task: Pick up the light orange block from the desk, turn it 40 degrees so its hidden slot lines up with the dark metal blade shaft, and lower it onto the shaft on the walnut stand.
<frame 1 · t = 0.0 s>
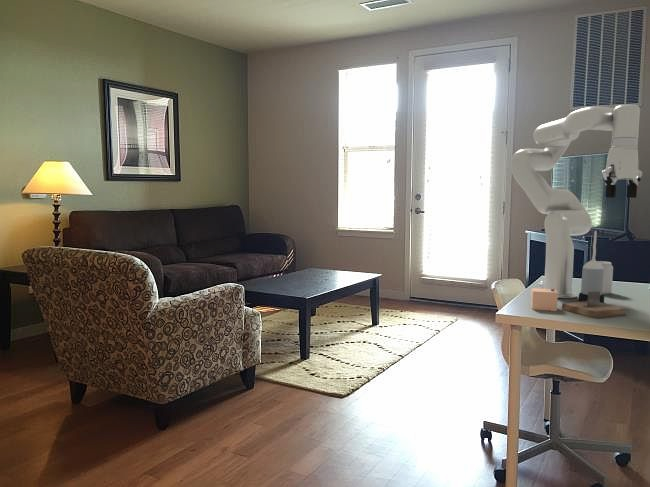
hand: (621, 197, 181), 37 cm above the table, tool pointing down, fingers open, 9 cm apart
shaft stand: (592, 311, 179), on the table
can: (600, 293, 213), on the table
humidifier: (591, 303, 194), on the table
light orange block: (543, 308, 184), on the table
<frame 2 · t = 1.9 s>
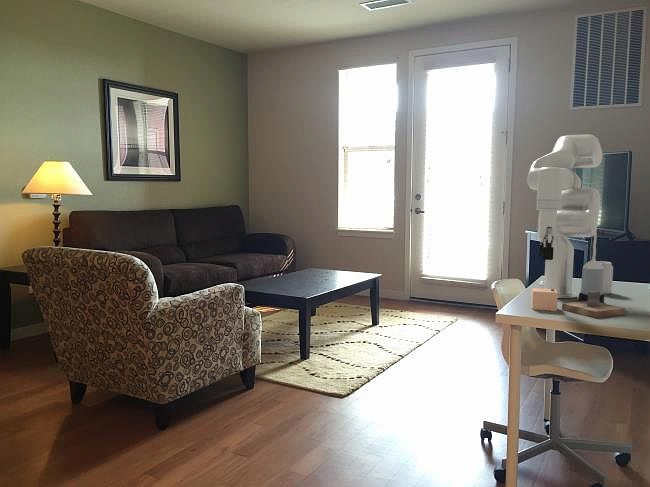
hand: (545, 258, 182), 17 cm above the table, tool pointing down, fingers open, 9 cm apart
nothing on the table moved.
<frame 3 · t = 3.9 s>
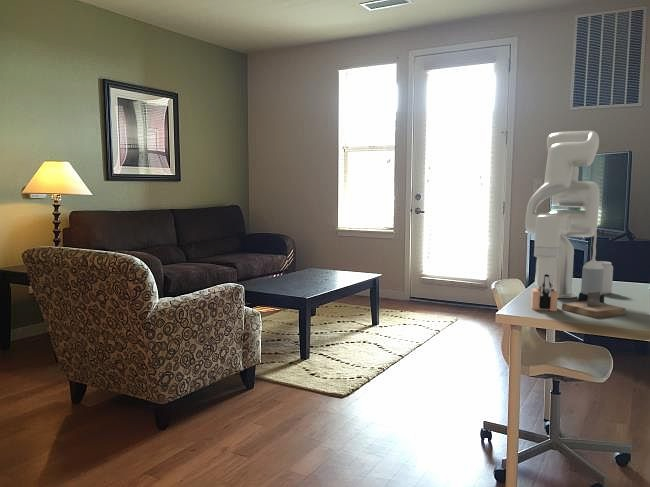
hand: (543, 305, 184), 1 cm above the table, tool pointing down, fingers closed on light orange block, 6 cm apart
light orange block: (543, 308, 184), on the table, touching gripper
everything else where it was.
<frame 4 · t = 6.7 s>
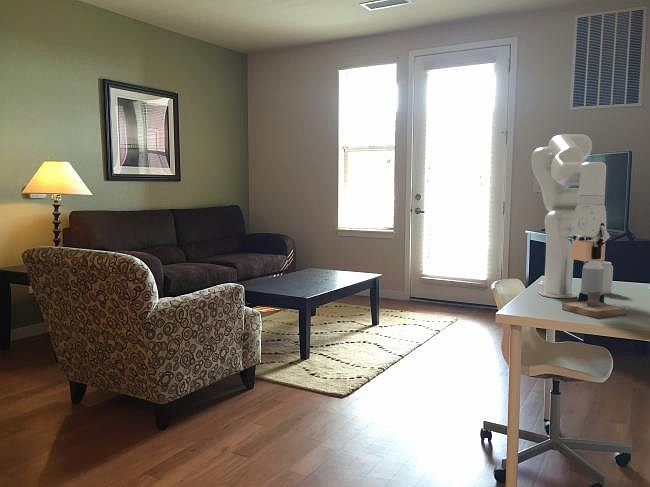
hand: (588, 257, 178), 18 cm above the table, tool pointing down, fingers closed on light orange block, 6 cm apart
light orange block: (587, 259, 178), point 17 cm above the table, touching gripper
everything else where it was.
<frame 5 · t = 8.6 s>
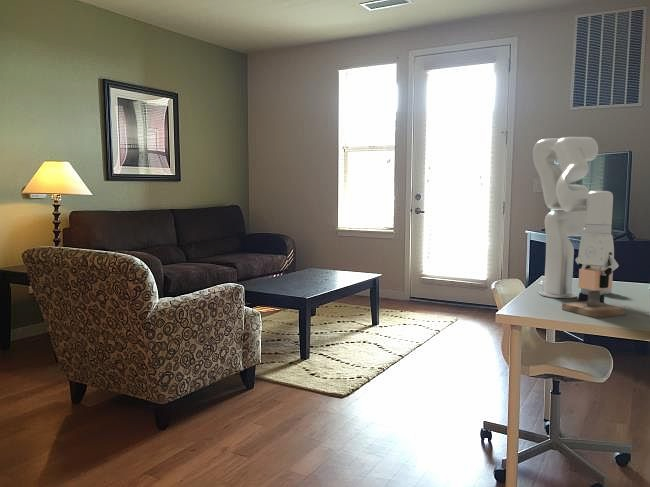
hand: (594, 285, 178), 9 cm above the table, tool pointing down, fingers closed on light orange block, 6 cm apart
light orange block: (594, 288, 178), point 8 cm above the table, touching gripper
everything else where it was.
when the fingers open (4 cm above the table, at t = 9.9 s): light orange block drops 2 cm, resting on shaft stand.
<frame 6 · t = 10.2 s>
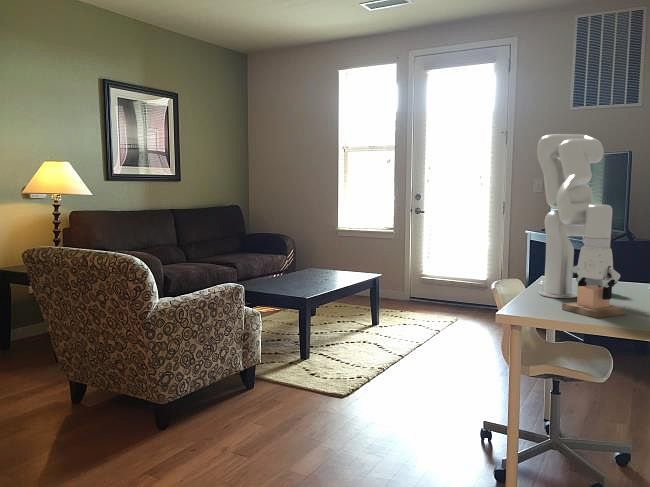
hand: (593, 296, 179), 5 cm above the table, tool pointing down, fingers open, 9 cm apart
light orange block: (593, 305, 179), point 2 cm above the table, touching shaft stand
everything else where it was.
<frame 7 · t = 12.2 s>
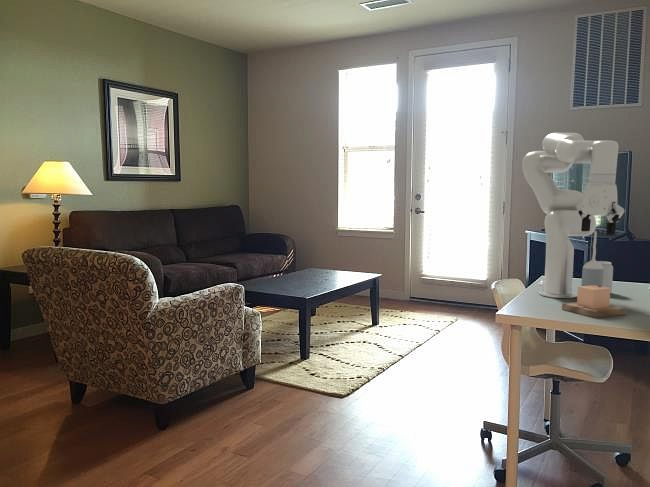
hand: (597, 232, 180), 25 cm above the table, tool pointing down, fingers open, 9 cm apart
nothing on the table moved.
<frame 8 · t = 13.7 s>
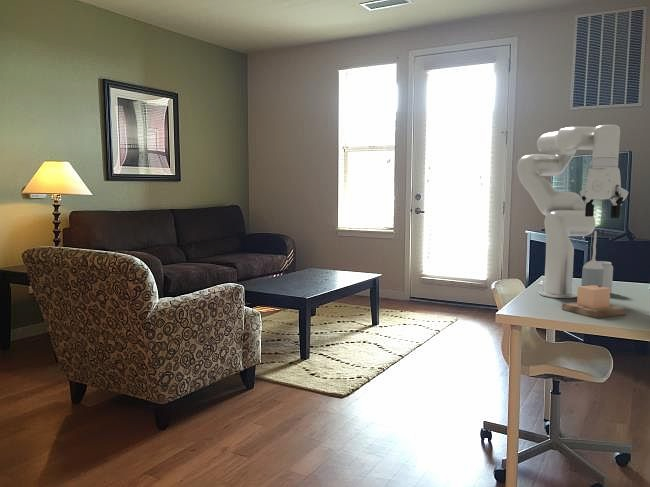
hand: (601, 217, 181), 30 cm above the table, tool pointing down, fingers open, 9 cm apart
nothing on the table moved.
at the end: light orange block 0.1 cm off-centre on the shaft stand, point 2.0 cm above the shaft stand's base; light orange block tilted 0°; the gripper is holding nothing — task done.
